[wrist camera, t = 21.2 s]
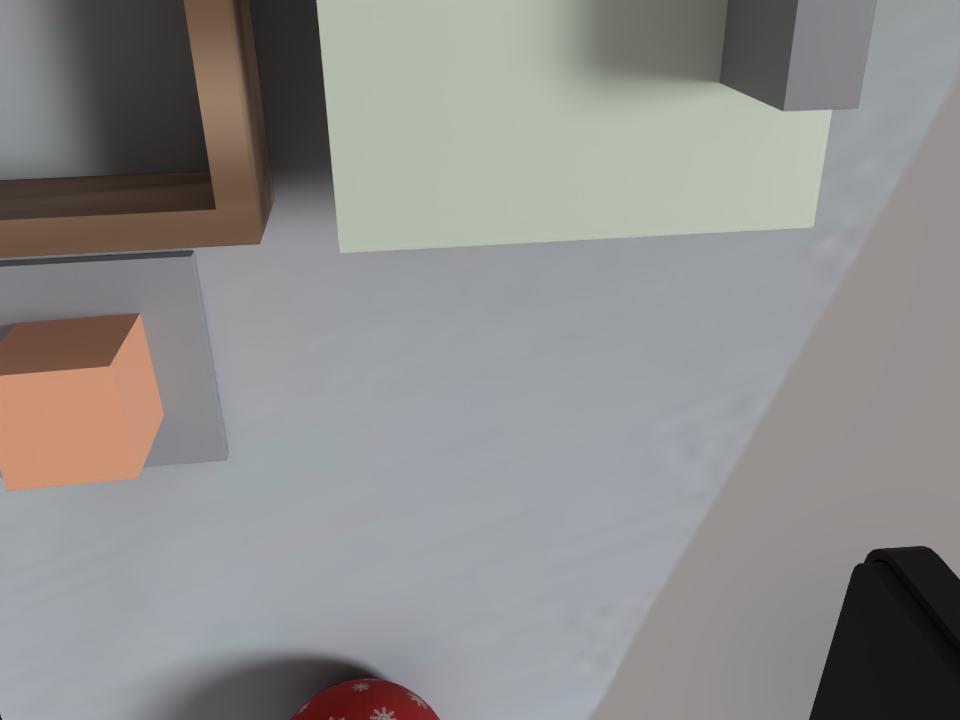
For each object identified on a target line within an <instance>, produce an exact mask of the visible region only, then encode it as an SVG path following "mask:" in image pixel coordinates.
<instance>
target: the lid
mask: <svg viewBox="0 0 960 720" xmlns="http://www.w3.org/2000/svg"><path fill="white" fill-rule="evenodd" d="M316 1H317V12H318V23H319V33H320V44H321V55H322V66H323V77H324V87H325V98H326V109H327V120H328V130H329V141H330V152H331V163H332V174H333V184H334V195H335V206H336V217H337V227H338V238H339V249H340V253H352V252H371V251H389V250H407V249H425V248H444V247H462V246H480V245H498V244H517V243H535V242H553V241H572V240H590V239H608V238H626V237H645V236H663V235H681V234H699V233H718V232H736V231H754V230H772V229H791V228H809V227H813V226H814V220H815V214H816V207H817V201H818V195H819V189H820V182H821V176H822V170H823V164H824V157H825V151H826V145H827V139H828V132H829V126H830V120H831V114H832V110H836V109H858V106H859V100H860V95H861V89H862V83H863V77H864V71H865V66H866V60H867V54H868V48H869V42H870V37H871V31H872V25H873V19H874V14H875V8H876V2H877V0H316Z"/></svg>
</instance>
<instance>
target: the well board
mask: <svg viewBox="0 0 960 720" xmlns="http://www.w3.org/2000/svg"><path fill="white" fill-rule="evenodd" d="M184 7H185V13H186V20H187V26H188V32H189V39H190V45H191V52H192V58H193V64H194V71H195V77H196V84H197V90H198V97H199V103H200V109H201V116H202V122H203V129H204V135H205V141H206V148H207V154H208V161H209V167H210V171H200V172H178V173H155V174H133V175H111V176H89V177H67V178H44V179H22V180H0V258H8V257H27V256H46V255H64V254H83V253H102V252H121V251H139V250H158V249H177V248H196V247H214V246H233V245H252V244H260V242H261V239H262V236H263V233H264V230H265V227H266V224H267V221H268V218H269V215H270V212H271V209H272V206H273V202H274V195H273V187H272V179H271V171H270V163H269V155H268V147H267V139H266V131H265V123H264V114H263V106H262V98H261V90H260V82H259V74H258V66H257V58H256V50H255V42H254V34H253V26H252V18H251V10H250V2H249V0H184Z"/></svg>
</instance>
